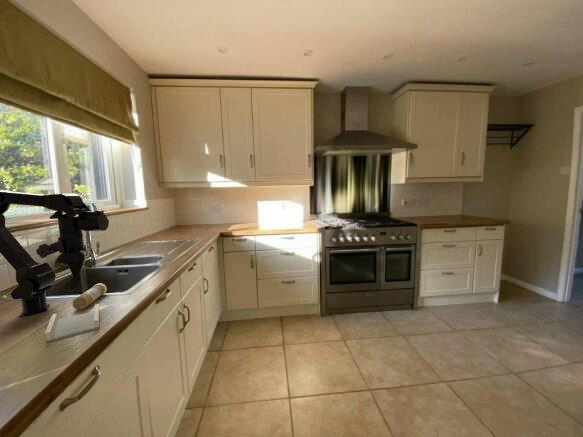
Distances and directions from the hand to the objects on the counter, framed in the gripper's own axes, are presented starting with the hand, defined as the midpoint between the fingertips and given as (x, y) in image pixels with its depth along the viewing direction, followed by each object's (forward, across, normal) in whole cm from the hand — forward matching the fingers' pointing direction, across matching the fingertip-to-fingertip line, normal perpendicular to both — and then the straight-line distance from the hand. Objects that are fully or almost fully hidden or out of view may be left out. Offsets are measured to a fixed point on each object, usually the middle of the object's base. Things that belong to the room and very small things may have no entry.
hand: (76, 277), depth 84 cm
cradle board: (+10, +15, 0) cm, 18 cm away
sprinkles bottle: (+8, +3, 0) cm, 9 cm away
